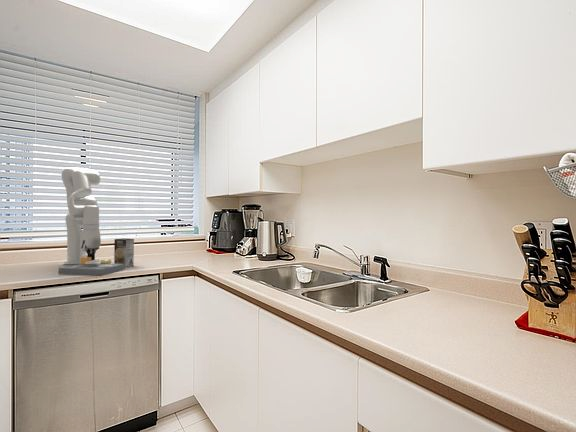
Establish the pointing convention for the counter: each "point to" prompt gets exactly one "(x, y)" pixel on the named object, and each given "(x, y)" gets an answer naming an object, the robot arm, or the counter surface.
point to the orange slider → (85, 259)
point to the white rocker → (92, 261)
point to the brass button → (106, 261)
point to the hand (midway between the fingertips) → (91, 260)
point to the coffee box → (124, 251)
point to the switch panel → (91, 269)
